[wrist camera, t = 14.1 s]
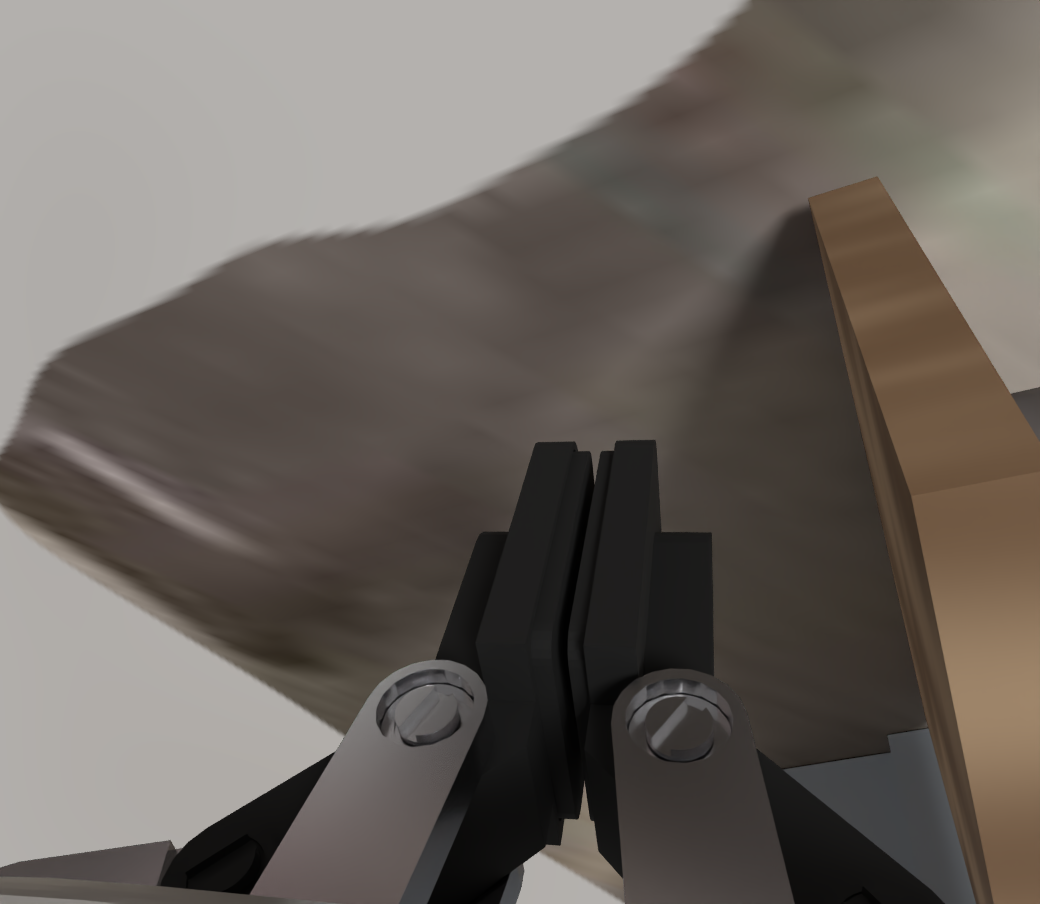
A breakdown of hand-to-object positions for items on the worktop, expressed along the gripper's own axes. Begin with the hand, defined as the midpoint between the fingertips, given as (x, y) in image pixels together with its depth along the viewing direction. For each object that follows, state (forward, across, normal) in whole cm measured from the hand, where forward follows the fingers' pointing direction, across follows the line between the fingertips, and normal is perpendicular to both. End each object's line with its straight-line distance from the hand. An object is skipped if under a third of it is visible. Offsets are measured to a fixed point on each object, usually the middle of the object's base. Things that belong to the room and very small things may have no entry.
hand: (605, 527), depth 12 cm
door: (+7, -6, +4) cm, 10 cm away
